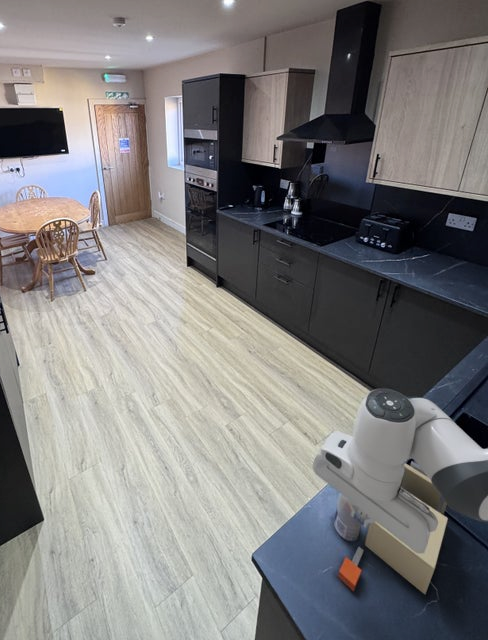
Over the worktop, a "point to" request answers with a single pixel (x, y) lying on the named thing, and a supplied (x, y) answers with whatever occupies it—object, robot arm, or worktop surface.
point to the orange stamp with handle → (351, 570)
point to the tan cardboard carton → (408, 552)
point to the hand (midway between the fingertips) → (359, 519)
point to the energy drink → (346, 520)
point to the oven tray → (422, 486)
